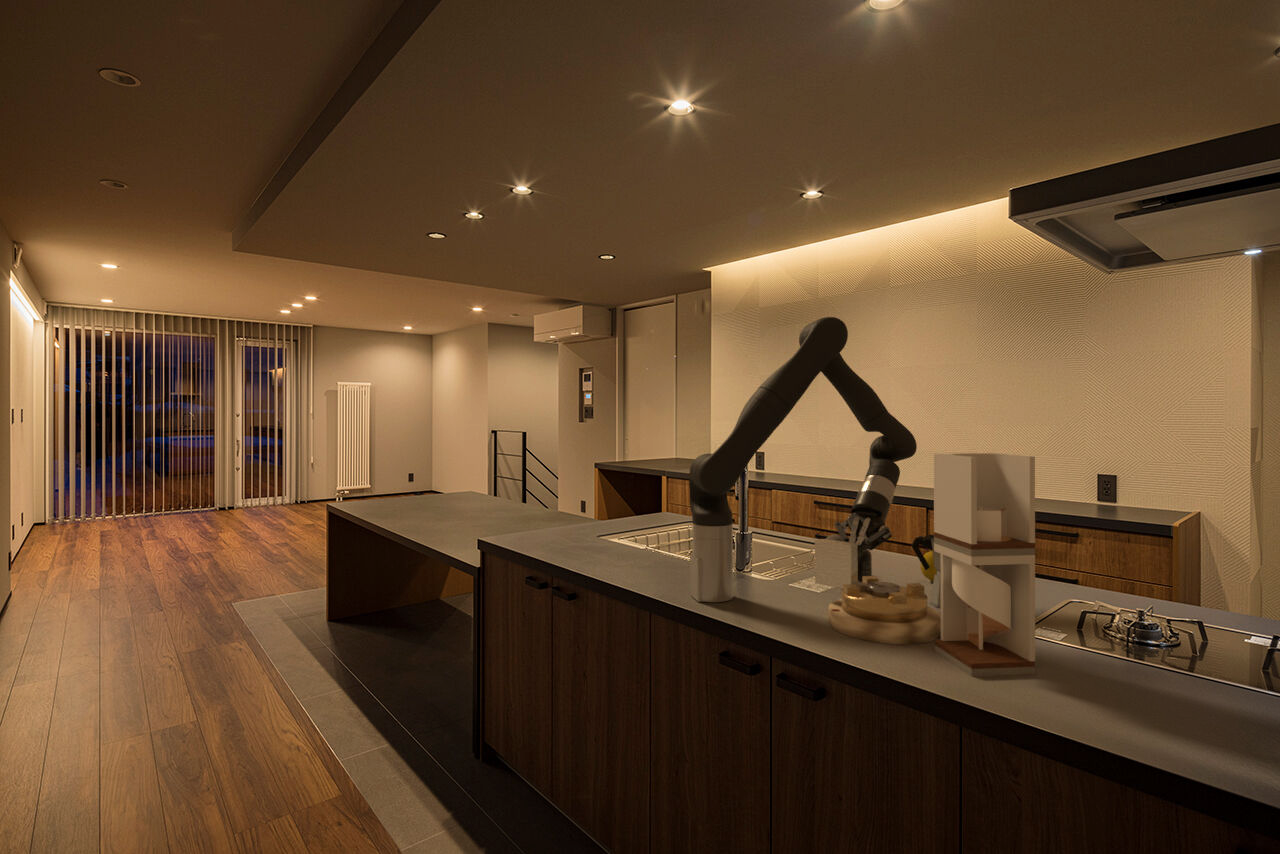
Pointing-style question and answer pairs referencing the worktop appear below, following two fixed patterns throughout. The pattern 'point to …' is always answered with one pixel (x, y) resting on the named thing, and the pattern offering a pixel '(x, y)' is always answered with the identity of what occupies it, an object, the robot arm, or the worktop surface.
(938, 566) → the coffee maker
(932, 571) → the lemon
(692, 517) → the robot arm
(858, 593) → the gold stand with panel
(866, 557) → the supplement bottle
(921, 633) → the cap plate
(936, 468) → the white tower model
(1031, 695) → the worktop surface
